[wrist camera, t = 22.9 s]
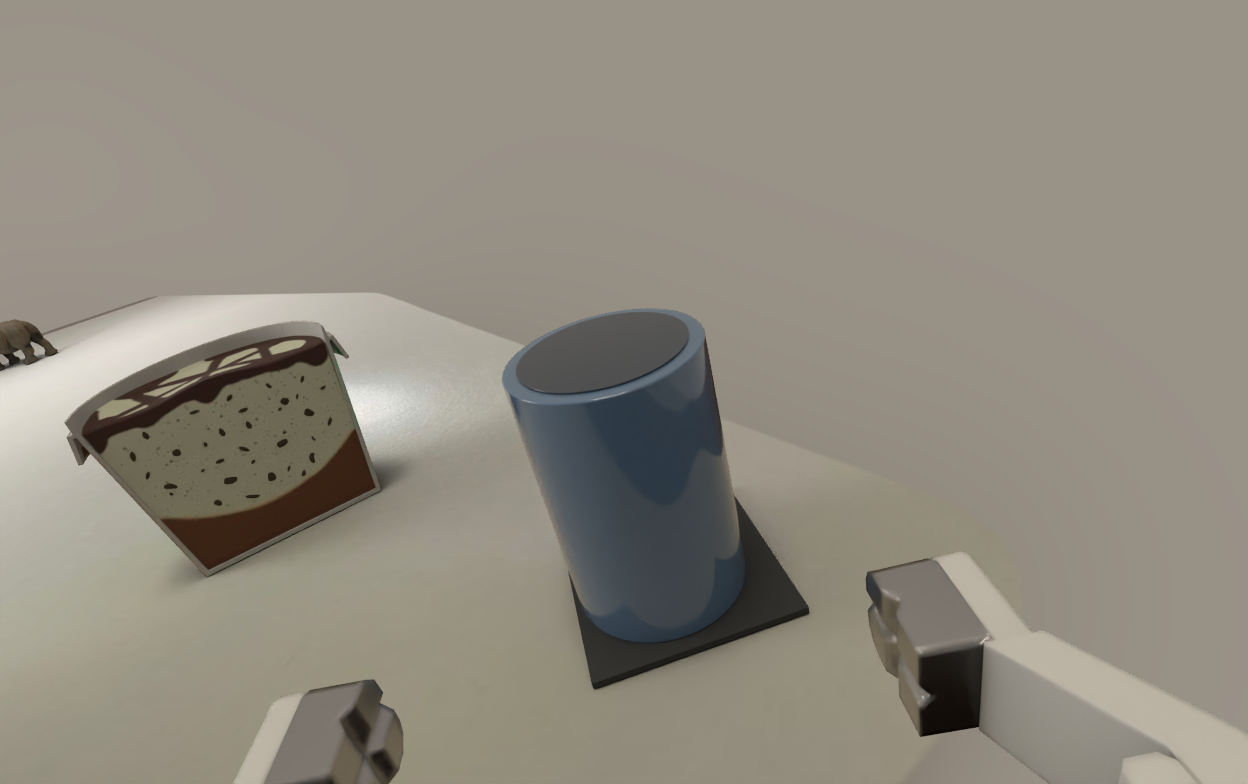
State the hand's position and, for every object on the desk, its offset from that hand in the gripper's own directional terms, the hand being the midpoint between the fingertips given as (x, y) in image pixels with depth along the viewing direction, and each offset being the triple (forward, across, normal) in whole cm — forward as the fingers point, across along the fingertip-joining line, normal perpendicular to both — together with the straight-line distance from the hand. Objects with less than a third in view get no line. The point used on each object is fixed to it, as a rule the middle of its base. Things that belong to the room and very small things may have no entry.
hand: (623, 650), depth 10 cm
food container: (+24, -21, -10) cm, 33 cm away
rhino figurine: (+79, -86, -10) cm, 117 cm away
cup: (+12, 0, -10) cm, 15 cm away
